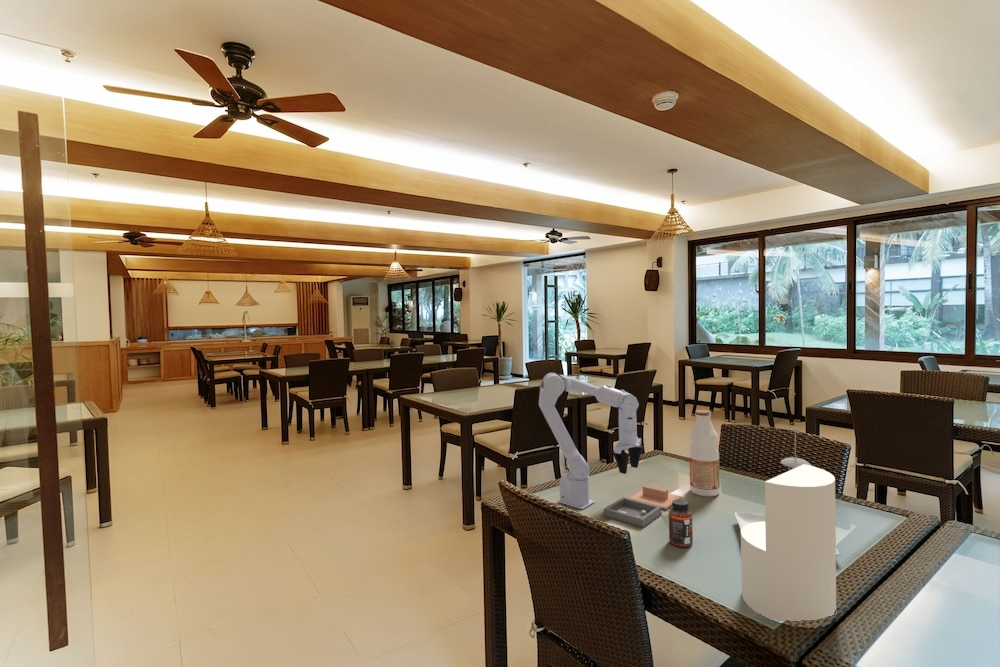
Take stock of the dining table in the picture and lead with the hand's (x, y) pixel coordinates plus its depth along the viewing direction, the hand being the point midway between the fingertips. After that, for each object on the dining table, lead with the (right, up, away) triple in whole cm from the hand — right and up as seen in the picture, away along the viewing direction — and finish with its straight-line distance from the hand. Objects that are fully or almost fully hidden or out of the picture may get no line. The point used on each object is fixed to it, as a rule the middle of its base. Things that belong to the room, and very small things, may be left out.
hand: (628, 470), depth 161 cm
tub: (-2, -11, -11) cm, 16 cm away
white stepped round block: (+18, -12, -58) cm, 62 cm away
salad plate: (+33, -11, -30) cm, 46 cm away
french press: (+51, -9, -7) cm, 52 cm away
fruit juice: (+28, -10, +6) cm, 30 cm away
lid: (+9, -10, 0) cm, 13 cm away
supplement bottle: (+6, -12, -30) cm, 33 cm away
